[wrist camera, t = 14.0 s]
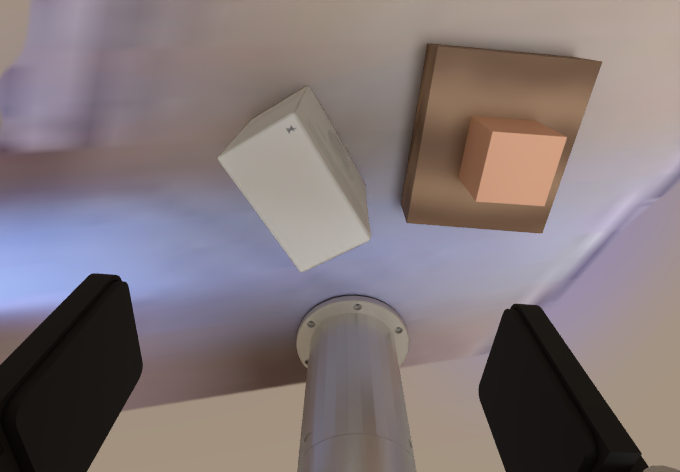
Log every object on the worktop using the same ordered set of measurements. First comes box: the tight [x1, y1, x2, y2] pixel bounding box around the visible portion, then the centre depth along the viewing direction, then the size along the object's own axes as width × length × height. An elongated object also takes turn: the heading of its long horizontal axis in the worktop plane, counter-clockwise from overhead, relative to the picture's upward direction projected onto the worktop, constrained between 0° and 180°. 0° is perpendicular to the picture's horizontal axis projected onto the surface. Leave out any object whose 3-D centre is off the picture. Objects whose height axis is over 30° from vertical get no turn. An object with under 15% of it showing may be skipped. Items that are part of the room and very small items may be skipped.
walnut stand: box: [401, 44, 602, 233], centre depth 35 cm, size 14×12×4 cm
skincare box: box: [218, 86, 371, 272], centre depth 33 cm, size 10×6×10 cm, turn 30°
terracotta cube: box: [458, 116, 567, 206], centre depth 31 cm, size 5×5×5 cm
